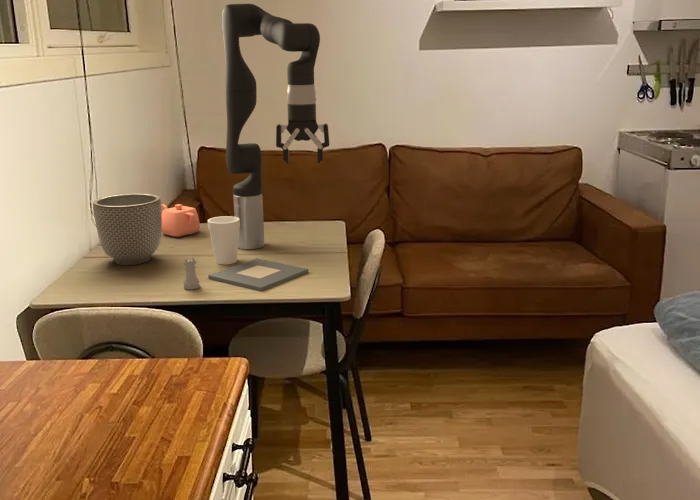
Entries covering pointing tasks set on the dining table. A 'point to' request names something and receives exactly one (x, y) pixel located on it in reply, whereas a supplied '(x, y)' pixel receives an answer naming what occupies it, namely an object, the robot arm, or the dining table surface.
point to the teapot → (179, 220)
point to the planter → (129, 226)
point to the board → (258, 274)
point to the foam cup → (224, 238)
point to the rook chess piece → (191, 275)
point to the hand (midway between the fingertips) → (303, 162)
